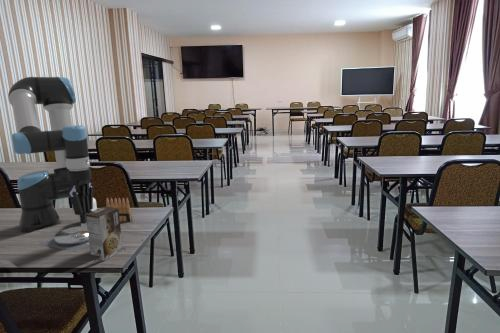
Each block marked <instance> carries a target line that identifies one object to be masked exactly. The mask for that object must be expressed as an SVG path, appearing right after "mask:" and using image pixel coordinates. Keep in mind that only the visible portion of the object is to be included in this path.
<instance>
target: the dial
mask: <svg viewBox="0 0 500 333" xmlns="http://www.w3.org/2000/svg"><path fill="white" fill-rule="evenodd" d="M53 238H55V243H56V244H57V245H61V246H71V245H77V244H81V243H85V242H87V241H89V237H88V231H82V227H81V225H79V226H72V227H69V228H66V229H62V230H60V231H58V232H56V233H55V235H54V236H53Z"/></svg>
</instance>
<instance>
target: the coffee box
mask: <svg viewBox="0 0 500 333" xmlns="http://www.w3.org/2000/svg"><path fill="white" fill-rule="evenodd" d="M86 221H87V229H88V237H89V245H88V246H89V250H90V252H89V253H90V255H92V256H97V257H96V258H95V260H97V261H98V260H99V261H102V262H106V261H107V260H109V259H110V258H112V257H114V256H116V255H117V254H119V253H121V252H122V251H123V250H124V248H123V237H122V228H121V221H120V219H119V210H118V208H113V207H107V205H106V206H103V207H100V208H97V210H95V211H92V212H90V213H88V214H86Z"/></svg>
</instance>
